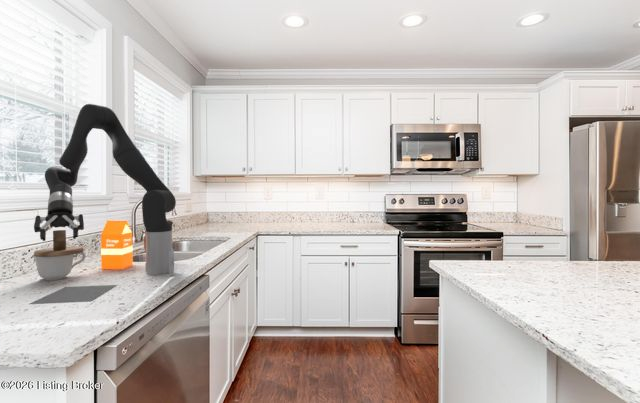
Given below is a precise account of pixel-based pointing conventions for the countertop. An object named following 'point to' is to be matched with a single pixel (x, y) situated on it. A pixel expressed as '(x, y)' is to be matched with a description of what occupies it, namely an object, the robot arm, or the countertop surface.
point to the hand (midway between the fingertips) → (59, 238)
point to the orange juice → (116, 245)
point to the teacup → (56, 266)
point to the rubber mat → (75, 294)
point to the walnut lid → (58, 246)
